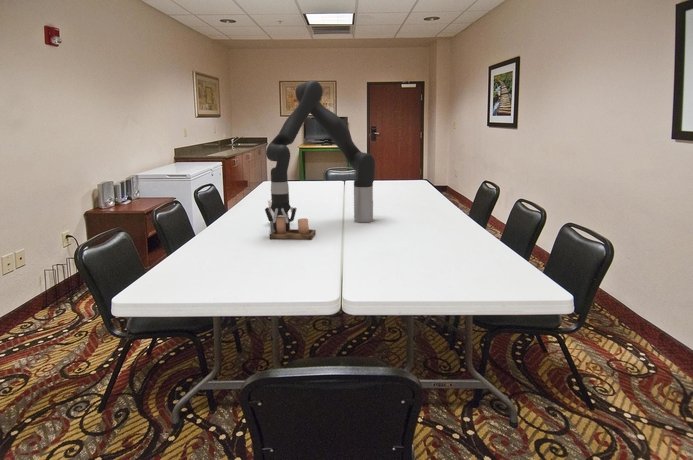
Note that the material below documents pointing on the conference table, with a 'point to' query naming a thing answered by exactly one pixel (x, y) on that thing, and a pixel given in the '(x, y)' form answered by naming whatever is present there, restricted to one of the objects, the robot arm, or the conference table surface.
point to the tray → (293, 235)
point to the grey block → (271, 227)
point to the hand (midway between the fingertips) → (281, 230)
